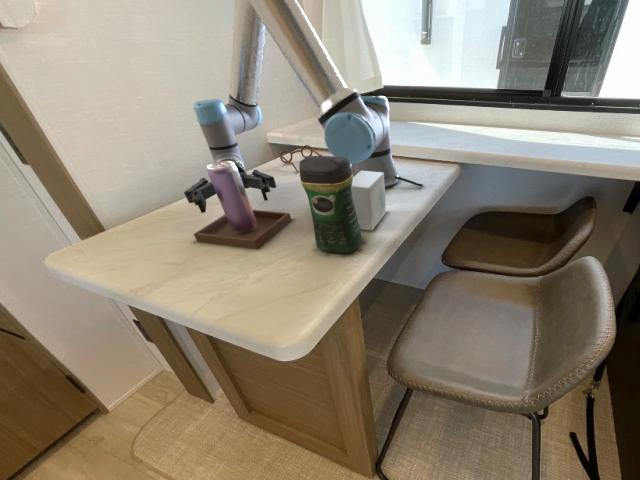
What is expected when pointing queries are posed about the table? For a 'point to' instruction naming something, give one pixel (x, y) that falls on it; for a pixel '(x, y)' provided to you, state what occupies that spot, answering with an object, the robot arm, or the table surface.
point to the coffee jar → (331, 202)
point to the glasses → (296, 152)
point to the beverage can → (232, 196)
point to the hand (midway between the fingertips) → (233, 200)
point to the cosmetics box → (369, 198)
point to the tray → (263, 232)
